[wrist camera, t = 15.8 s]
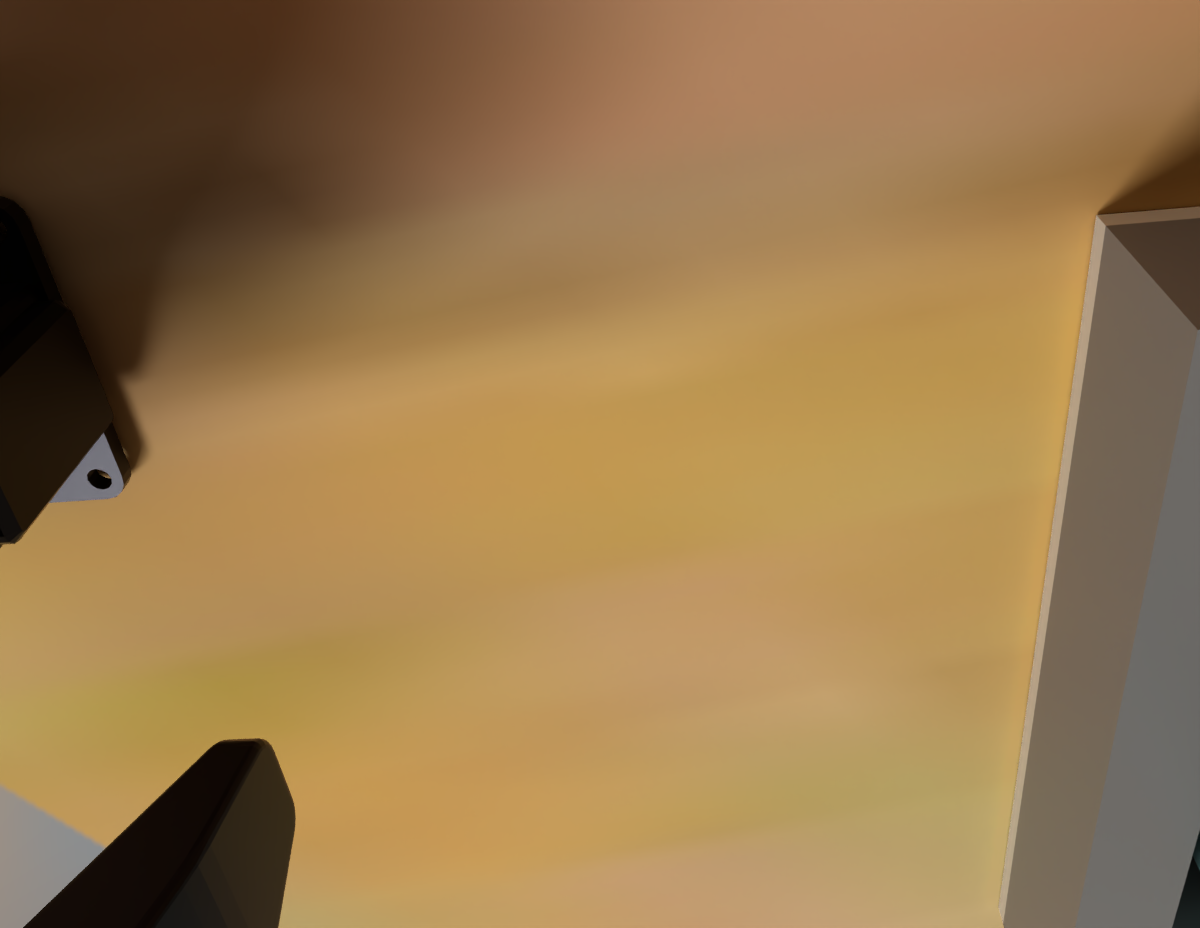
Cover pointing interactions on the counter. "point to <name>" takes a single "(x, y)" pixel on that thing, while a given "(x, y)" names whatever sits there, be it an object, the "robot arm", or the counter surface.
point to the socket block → (1120, 608)
